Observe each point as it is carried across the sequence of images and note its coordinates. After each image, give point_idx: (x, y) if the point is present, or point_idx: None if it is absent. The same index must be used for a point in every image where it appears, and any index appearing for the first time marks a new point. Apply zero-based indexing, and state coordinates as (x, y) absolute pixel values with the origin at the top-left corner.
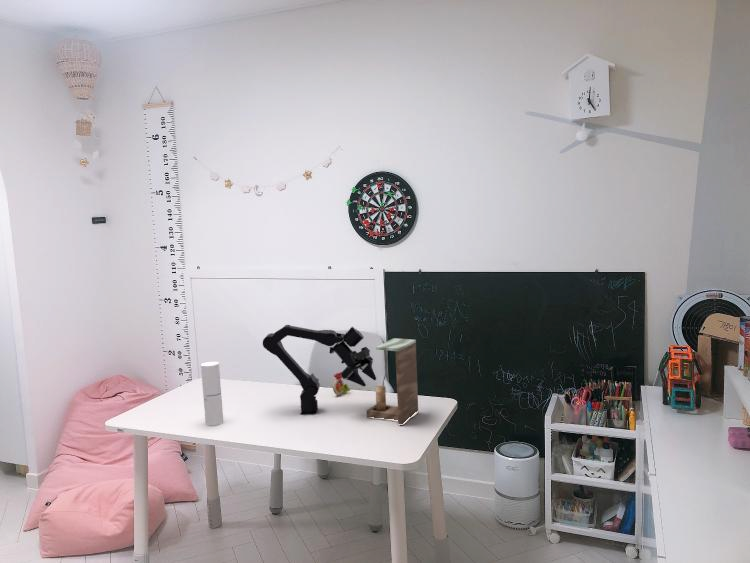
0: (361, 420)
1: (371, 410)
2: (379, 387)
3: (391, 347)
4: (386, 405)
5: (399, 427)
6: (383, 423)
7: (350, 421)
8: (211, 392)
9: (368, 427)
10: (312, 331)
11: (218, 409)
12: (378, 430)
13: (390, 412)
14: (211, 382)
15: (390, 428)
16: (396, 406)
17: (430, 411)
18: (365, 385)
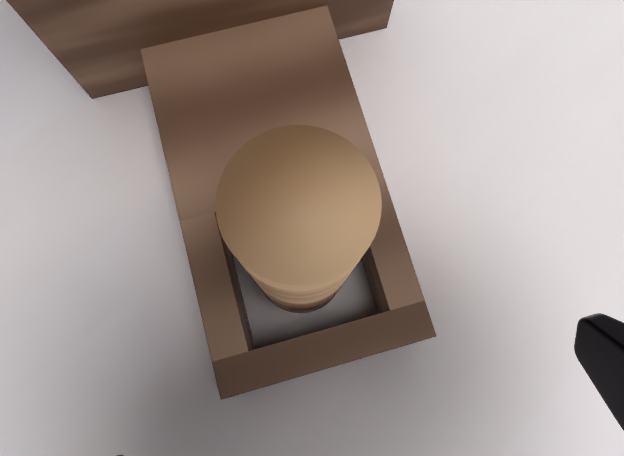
0: (492, 329)
1: (400, 299)
2: (313, 208)
3: None
4: (203, 279)
5: (404, 6)
6: (421, 141)
7: (572, 391)
8: None
9: (555, 175)
10: None
11: None
12: (543, 80)
13: (331, 122)
14: None
15: (459, 40)
16: (172, 181)
17: (6, 26)
18: (593, 316)
